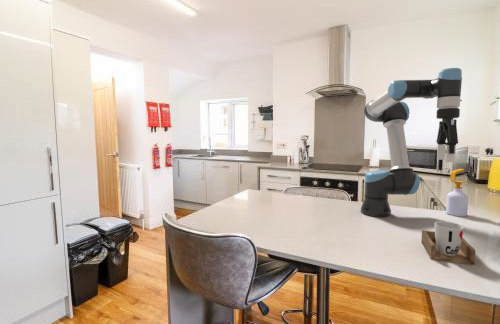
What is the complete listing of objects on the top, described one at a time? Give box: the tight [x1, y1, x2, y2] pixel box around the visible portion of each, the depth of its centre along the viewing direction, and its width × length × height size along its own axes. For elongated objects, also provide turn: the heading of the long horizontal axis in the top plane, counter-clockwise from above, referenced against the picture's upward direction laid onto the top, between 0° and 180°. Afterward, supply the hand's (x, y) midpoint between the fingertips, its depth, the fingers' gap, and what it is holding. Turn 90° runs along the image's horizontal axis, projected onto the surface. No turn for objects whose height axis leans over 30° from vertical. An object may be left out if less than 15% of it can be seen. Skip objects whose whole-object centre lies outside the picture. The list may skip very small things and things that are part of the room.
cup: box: [434, 221, 465, 256], centre depth 94 cm, size 8×8×10 cm
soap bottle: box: [445, 168, 469, 217], centre depth 144 cm, size 9×9×25 cm
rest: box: [421, 229, 476, 266], centre depth 97 cm, size 12×16×5 cm
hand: (445, 160), depth 111 cm, fingers open, 13 cm apart
